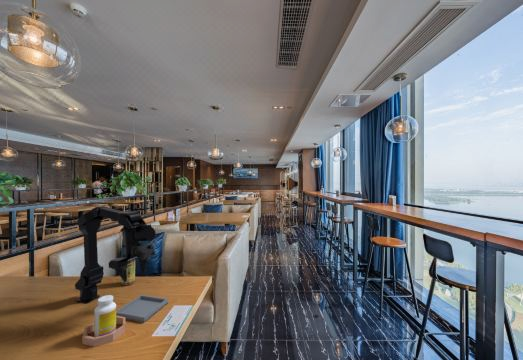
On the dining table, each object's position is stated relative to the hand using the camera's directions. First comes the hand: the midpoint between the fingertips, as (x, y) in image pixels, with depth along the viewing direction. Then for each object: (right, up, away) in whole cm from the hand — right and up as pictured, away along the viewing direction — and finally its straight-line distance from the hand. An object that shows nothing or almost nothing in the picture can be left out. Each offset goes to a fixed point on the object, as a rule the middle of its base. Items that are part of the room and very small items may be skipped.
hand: (134, 277), depth 97 cm
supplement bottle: (-2, -14, -15) cm, 21 cm away
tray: (+3, -14, 0) cm, 15 cm away
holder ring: (-2, -14, -15) cm, 21 cm away
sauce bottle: (-17, -14, +25) cm, 33 cm away
